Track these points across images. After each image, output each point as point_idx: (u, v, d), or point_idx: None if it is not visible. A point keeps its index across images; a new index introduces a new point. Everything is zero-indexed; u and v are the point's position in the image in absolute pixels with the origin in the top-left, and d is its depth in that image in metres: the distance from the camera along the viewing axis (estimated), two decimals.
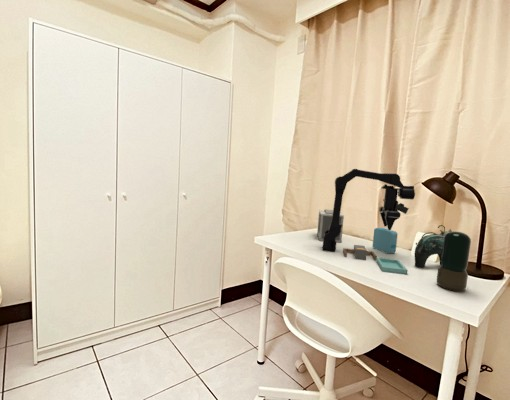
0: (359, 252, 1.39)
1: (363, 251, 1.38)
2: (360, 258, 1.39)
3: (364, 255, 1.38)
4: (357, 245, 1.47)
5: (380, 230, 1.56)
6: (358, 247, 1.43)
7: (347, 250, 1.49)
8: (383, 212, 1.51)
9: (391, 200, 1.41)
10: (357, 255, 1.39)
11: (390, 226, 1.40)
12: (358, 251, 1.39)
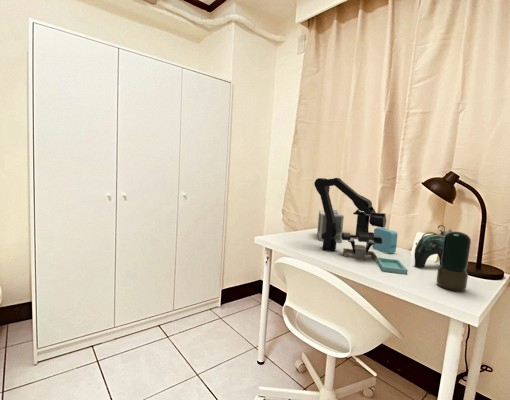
0: (358, 252, 1.39)
1: (362, 251, 1.38)
2: (359, 258, 1.39)
3: (363, 255, 1.38)
4: (358, 245, 1.47)
5: (380, 230, 1.56)
6: (358, 247, 1.43)
7: (347, 250, 1.49)
8: None
9: (356, 225, 1.42)
10: (356, 254, 1.39)
11: None
12: (357, 250, 1.39)
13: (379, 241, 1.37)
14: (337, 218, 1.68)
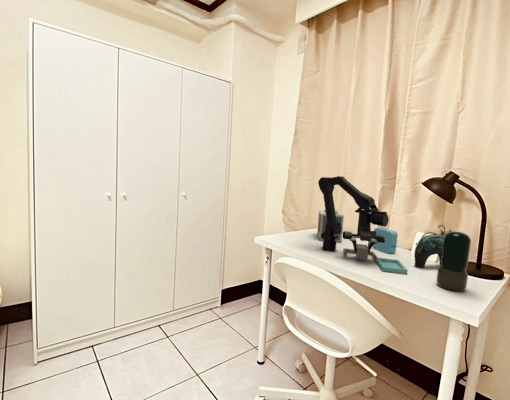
0: (360, 251, 1.35)
1: (364, 250, 1.34)
2: (361, 257, 1.35)
3: (365, 254, 1.34)
4: (359, 244, 1.42)
5: (380, 230, 1.56)
6: (360, 246, 1.39)
7: (347, 250, 1.49)
8: None
9: (358, 223, 1.38)
10: (358, 254, 1.35)
11: (354, 249, 1.39)
12: (359, 250, 1.35)
13: (381, 240, 1.33)
14: (337, 218, 1.68)
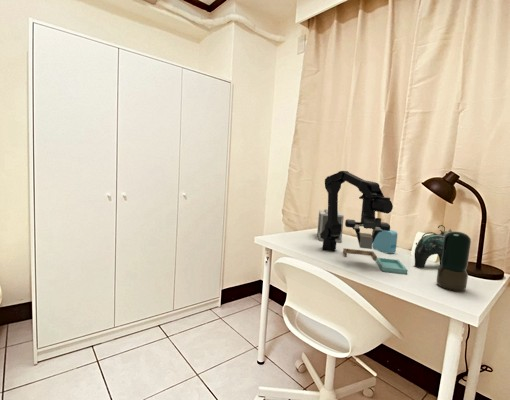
0: (364, 240, 1.26)
1: (368, 239, 1.26)
2: (365, 246, 1.27)
3: (370, 243, 1.26)
4: (363, 233, 1.34)
5: None
6: (363, 235, 1.30)
7: (347, 250, 1.49)
8: None
9: None
10: (362, 243, 1.27)
11: None
12: (363, 238, 1.26)
13: (387, 228, 1.25)
14: None
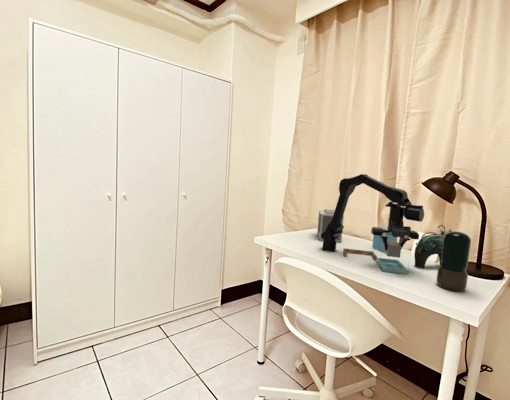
0: (392, 248, 1.24)
1: (397, 247, 1.24)
2: (393, 255, 1.24)
3: (398, 252, 1.24)
4: (389, 241, 1.32)
5: None
6: (391, 243, 1.28)
7: (347, 250, 1.49)
8: None
9: (389, 218, 1.28)
10: (390, 251, 1.25)
11: (384, 246, 1.29)
12: (391, 247, 1.24)
13: (415, 236, 1.23)
14: None
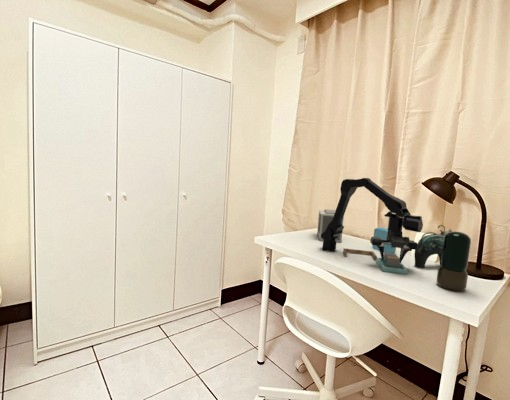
0: (391, 261, 1.25)
1: (395, 260, 1.24)
2: None
3: (397, 264, 1.24)
4: (388, 253, 1.33)
5: (380, 230, 1.56)
6: (389, 255, 1.29)
7: (347, 250, 1.49)
8: None
9: None
10: (388, 264, 1.25)
11: (381, 256, 1.30)
12: (390, 260, 1.25)
13: (414, 247, 1.23)
14: None
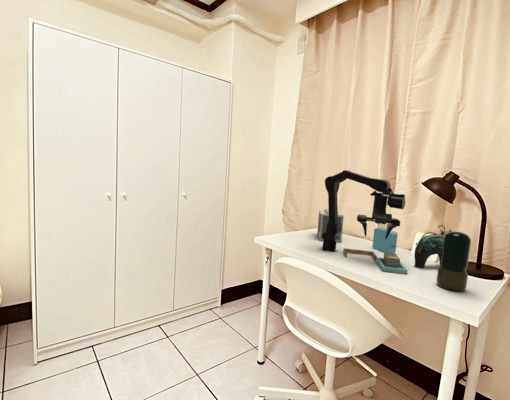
0: (391, 261, 1.25)
1: (395, 260, 1.24)
2: None
3: (397, 264, 1.24)
4: (388, 253, 1.33)
5: (380, 230, 1.56)
6: (389, 255, 1.29)
7: (347, 250, 1.49)
8: None
9: (373, 206, 1.36)
10: (388, 264, 1.25)
11: (364, 232, 1.38)
12: (390, 260, 1.25)
13: (397, 223, 1.32)
14: None
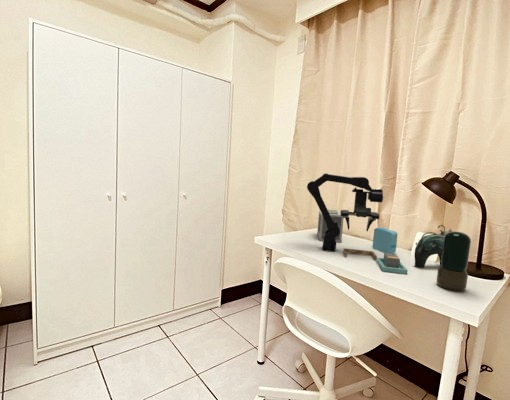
0: (391, 261, 1.25)
1: (395, 260, 1.24)
2: None
3: (397, 264, 1.24)
4: (388, 253, 1.33)
5: (380, 230, 1.56)
6: (389, 255, 1.29)
7: (347, 250, 1.49)
8: (369, 217, 1.49)
9: None
10: (388, 264, 1.25)
11: (347, 225, 1.50)
12: (390, 260, 1.25)
13: (376, 216, 1.43)
14: (337, 218, 1.68)
